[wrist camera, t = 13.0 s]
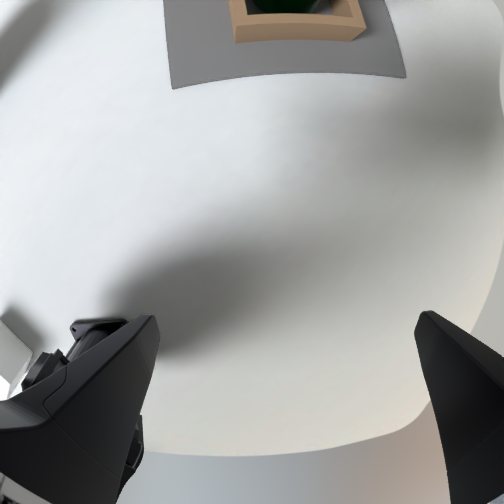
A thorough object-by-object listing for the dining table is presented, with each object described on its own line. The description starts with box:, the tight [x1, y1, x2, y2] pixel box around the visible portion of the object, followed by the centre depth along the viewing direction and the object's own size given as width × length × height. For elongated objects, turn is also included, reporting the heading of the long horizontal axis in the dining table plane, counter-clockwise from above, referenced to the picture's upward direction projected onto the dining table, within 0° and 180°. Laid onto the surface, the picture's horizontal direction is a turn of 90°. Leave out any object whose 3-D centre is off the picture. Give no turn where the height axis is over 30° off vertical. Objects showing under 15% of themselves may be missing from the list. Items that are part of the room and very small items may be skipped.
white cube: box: [0, 320, 33, 400], centre depth 20 cm, size 6×6×6 cm
